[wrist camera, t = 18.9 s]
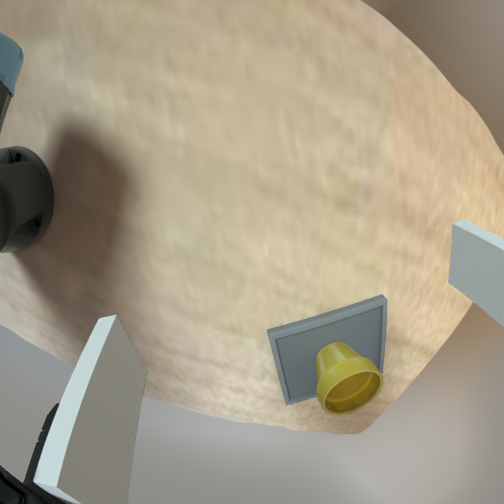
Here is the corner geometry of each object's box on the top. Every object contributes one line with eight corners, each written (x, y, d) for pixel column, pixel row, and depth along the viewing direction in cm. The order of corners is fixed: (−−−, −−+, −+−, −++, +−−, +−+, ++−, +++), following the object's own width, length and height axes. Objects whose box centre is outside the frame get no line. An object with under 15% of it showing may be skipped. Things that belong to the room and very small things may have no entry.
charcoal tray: (284, 398, 52) (286, 405, 51) (266, 329, 45) (268, 336, 44) (378, 366, 53) (382, 372, 51) (382, 294, 46) (387, 299, 44)
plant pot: (370, 337, 48) (395, 373, 39) (341, 379, 51) (360, 416, 42) (323, 326, 45) (345, 367, 36) (294, 372, 48) (309, 414, 39)
